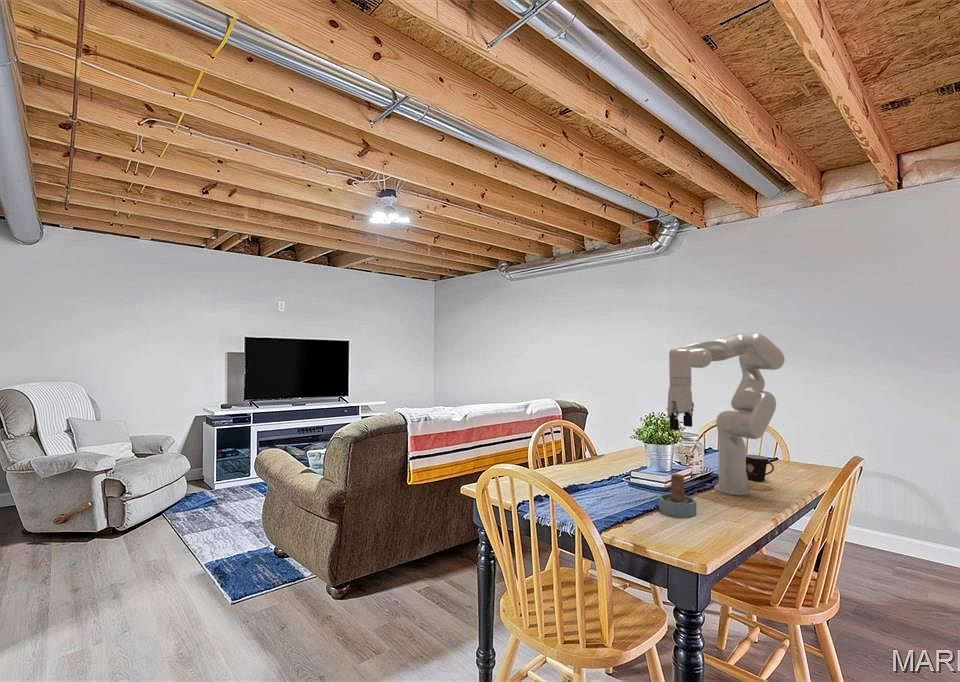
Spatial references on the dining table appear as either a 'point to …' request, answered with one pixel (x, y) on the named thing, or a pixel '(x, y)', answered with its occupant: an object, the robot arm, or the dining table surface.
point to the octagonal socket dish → (677, 506)
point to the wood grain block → (677, 488)
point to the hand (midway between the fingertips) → (681, 428)
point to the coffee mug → (757, 467)
